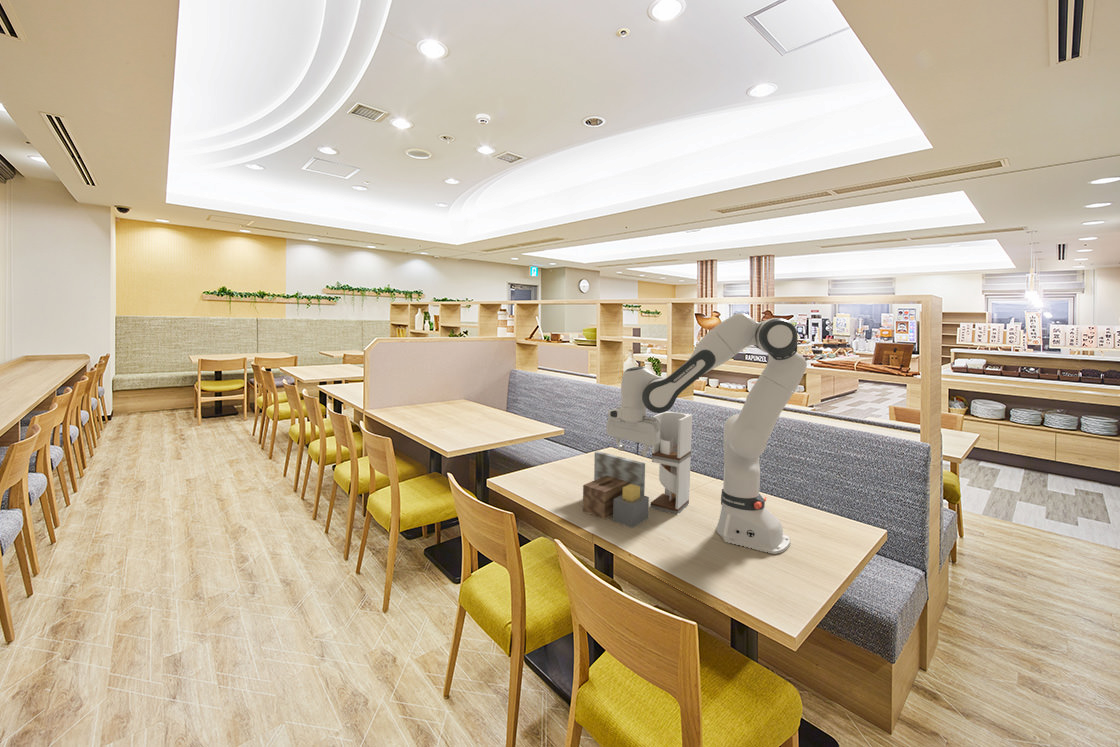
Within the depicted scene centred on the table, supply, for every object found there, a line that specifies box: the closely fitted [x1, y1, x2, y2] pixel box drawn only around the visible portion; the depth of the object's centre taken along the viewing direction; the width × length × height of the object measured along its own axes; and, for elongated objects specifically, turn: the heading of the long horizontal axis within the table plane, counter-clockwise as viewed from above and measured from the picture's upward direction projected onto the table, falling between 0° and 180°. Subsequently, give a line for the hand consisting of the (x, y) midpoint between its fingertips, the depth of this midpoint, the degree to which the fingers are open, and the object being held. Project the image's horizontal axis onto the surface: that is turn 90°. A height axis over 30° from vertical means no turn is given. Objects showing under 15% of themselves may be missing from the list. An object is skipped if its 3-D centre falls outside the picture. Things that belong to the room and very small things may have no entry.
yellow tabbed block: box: [622, 484, 640, 501], centre depth 166 cm, size 4×5×8 cm
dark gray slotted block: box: [612, 494, 650, 529], centre depth 167 cm, size 8×10×8 cm
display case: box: [649, 410, 693, 515], centre depth 177 cm, size 11×11×35 cm
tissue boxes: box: [582, 450, 646, 520], centre depth 176 cm, size 22×16×18 cm
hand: (632, 453), depth 164 cm, fingers open, 8 cm apart
